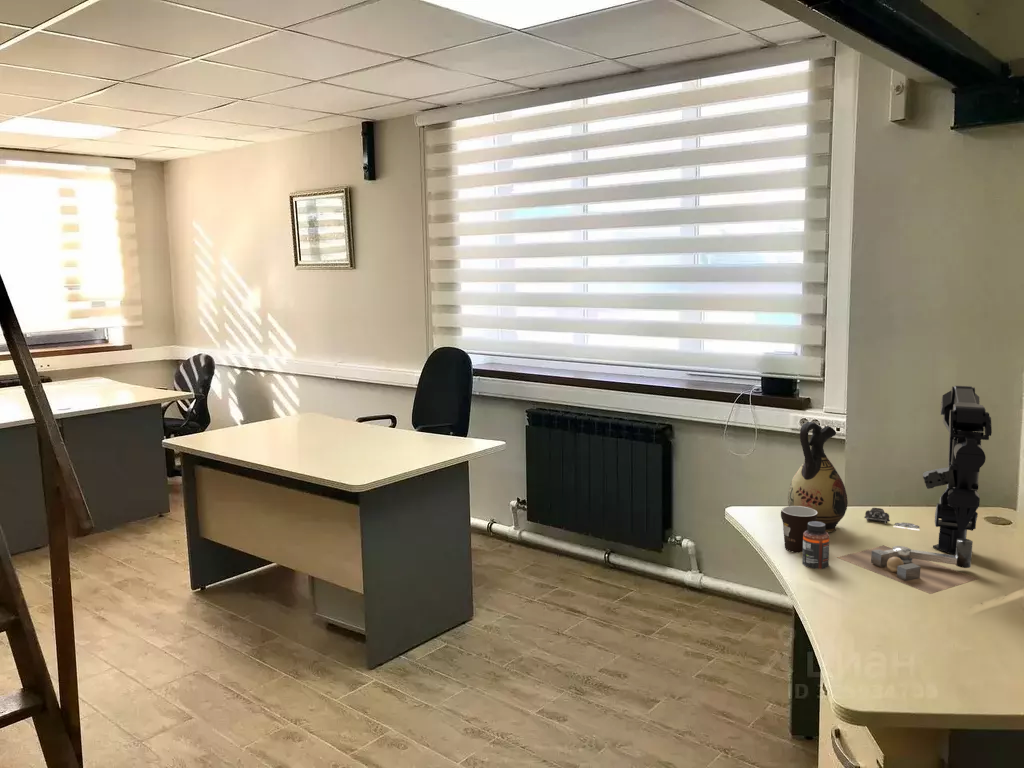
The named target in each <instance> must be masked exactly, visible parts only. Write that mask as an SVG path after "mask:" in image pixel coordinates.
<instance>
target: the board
mask: <svg viewBox="0 0 1024 768" xmlns="http://www.w3.org/2000/svg"><path fill="white" fill-rule="evenodd" d="M892 548H893V547H889V546H888V545H887V546H886V545H880V546H875V547H872V548H867V549H865V550H860V551H856V552H852V553H848V554H845V555H840V556H837V557H836V558H837V559H840V560H842V561H845V562H847V563H849V564H852V565H854V566H857V567H860V568H863V569H866V570H867V571H870V572H874V573H876V574H878V575H881V576H883V577H886V578H889V579H890V580H893V581H896V582H898V583H901V584H904V585H907V586H909V587H911V588H915V589H918V590H920V591H922V592H925V593H927V594H929V595H930V594H935V593H938V592H942V591H943V590H947V589H951V588H954V587H957V586H960V585H963V584H966V583H970V582H973V581H977V580H979V578H978V577H976V576H972V575H970V574H967V573H963V572H961V571H958V570H955V569H952V568H949V567H946V566H944V565H941V564H939V563H937V562H933V561H926V560H919V559H912V563H913V564H916V565H918V566H920V567H921V568H920V578H918V579H914V580H909V581H904V580H901V579H899V578H897V573H895V572H892V571H890V570H889V569H888V567H887V566H883V567H879V566H877V565H875V564H873V563H871V554H872V551H873V550H879V549H880V550H882V551H885V550H891V549H892Z"/></svg>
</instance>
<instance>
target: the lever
mask: <svg viewBox="0 0 1024 768" xmlns="http://www.w3.org/2000/svg"><path fill="white" fill-rule="evenodd" d="M891 548H892V549H891V550H885V551H882V550H880V549H879V550H873V551H872V554H871V563H873V564H875V565H877V566H879V567H883V566H887V561H888V559H889V558H891V557H898V558H900V559H909V558H912V559H919V560H926V561H930V562H933V563H942V564H946V565H948V564H949V565H955V566H956V567H958V568H963V569H969V568H971V567H972V553H973V540H971V539H968V538H966V539H963V538H959V539H957V545H956V555H954V554H948V553H947V554H946V553H939V552H932V551H925V550H918V549H911V548H909V547H908V546H903V545H893V546H892V547H891Z"/></svg>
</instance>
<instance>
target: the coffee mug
mask: <svg viewBox="0 0 1024 768" xmlns="http://www.w3.org/2000/svg"><path fill="white" fill-rule="evenodd" d="M817 513H818V512H817V511H816V510H814V509H811V508H808V507H802V506H789V505H788V506H784V507H783V508H782V509H781V511H780V518H781V521H782V528H783V538H784V540H783V541H784V542H783V543H784V549H785V548H786V549H785V550H787V549H788V550H790V551H789V552H791V551H793V552H792V553H796V552H798V553H803V533H804V532H805V531H806V530H807V529H808V523H809V522H811V521H816V519H817ZM788 550H787V551H788Z"/></svg>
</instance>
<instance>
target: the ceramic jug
mask: <svg viewBox="0 0 1024 768" xmlns="http://www.w3.org/2000/svg"><path fill="white" fill-rule="evenodd" d="M799 431H800V432H799V441H800V445H801V447H802V451H803V452H802V453H803V456H804V461H803V463H802V464H801V465H800V467H799V468H798V470H797V471H796V472H795V474H794V476H793V477H792V480H791V481H790V484H789V488H788V491H787V492H788V493H787V505H788V506H802V507H808V508H811V509H814V510H816V511H817V512H818V513H817V519H816V521H817V522H822V523H824V524H825V532H827V533H828V534H829V533H833V532H836V531H837V528H836V526H837V525H838V524H839V523H840V521H841V520H842V519H843V518H844V516H845V515H846V512H847V510H848V494H847V491H846V486H845V484H844V482H843V480H842V478H841V476H840V474H839V473H838V471H837V469H836V468H835V466H834V465H833V463H832V462H831V460H829V458H828V456H827V455H826V453H825V450H824V445H825V443H826V442H827V441H828V440H830V439H831V438H833V437H836V434H837V432H836V430H835V429H834V428H833V427H831V426H830V425H826V426H824V427H823V428H822V426H821V425H819V424H817V423H815V422H812V421H809V422H808V421H807V422H804V423H803V424H802V425H801V427H800V430H799ZM811 431H812V432H811ZM809 432H811V433H812V434H811V436H810V438H809Z"/></svg>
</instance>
